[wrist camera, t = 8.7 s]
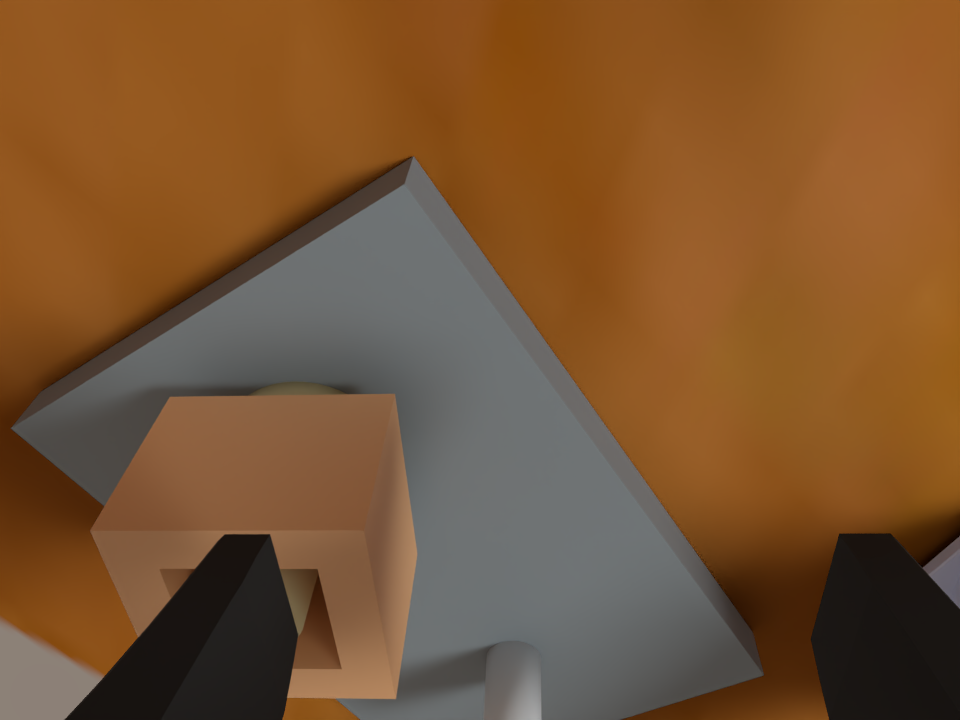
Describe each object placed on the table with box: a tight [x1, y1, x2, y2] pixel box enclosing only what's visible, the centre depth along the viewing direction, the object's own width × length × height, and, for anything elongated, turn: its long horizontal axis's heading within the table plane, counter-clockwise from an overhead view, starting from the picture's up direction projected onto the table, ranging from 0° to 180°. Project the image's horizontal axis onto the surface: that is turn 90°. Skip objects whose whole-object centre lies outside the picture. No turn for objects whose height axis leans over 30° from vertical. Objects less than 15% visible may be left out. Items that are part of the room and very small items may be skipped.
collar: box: [90, 394, 417, 699], centre depth 18 cm, size 5×5×4 cm
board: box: [11, 156, 764, 720], centre depth 21 cm, size 18×12×6 cm, turn 33°
